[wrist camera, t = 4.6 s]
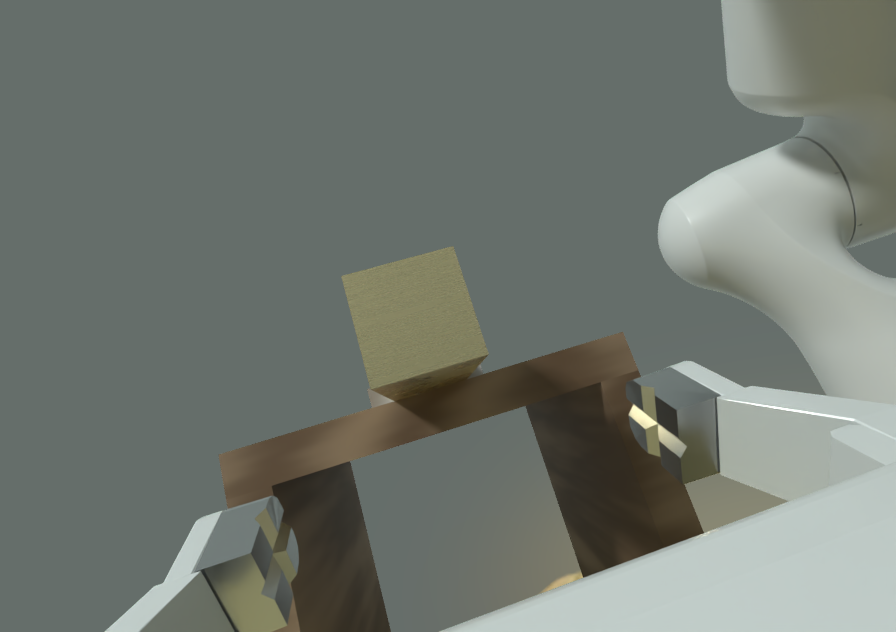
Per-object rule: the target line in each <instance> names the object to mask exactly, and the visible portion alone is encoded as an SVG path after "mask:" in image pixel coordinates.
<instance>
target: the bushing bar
mask: <svg viewBox="0 0 896 632" xmlns="http://www.w3.org/2000/svg"><path fill="white" fill-rule="evenodd" d="M341 277H342V280H343V284H344V288H345V292H346V296H347V300H348V304H349V308H350V311H351V315H352V319H353V323H354V327H355V330H356V334H357V338H358V342H359V346H360V350H361V354H362V357H363V362H364V365H365V369H366V373H367V377H368V381H369V385H370V389H371V390H372V391H374V392H377V393H379V394H381V395H383V396H385V397H387V398H389V399H391V400H393V401H397V400H400V399H403V398H407V397H410V396H413V395H417V394H420V393H423V392H426V391H430V390H433V389H436V388H440V387H443V386H446V385H449V384H453V383H456V382H459V381H463V380H466V379H468V377H469V376H470V375H471V374H472V373H473V372H474V371H475V369H476V368H477V367H478V366H479V365H480V364H481V362H482V361H483V360H484V359H485V358H486V357H487V356H488V351H487V348H486V345H485V342H484V339H483V336H482V333H481V330H480V327H479V324H478V321H477V318H476V315H475V312H474V309H473V305H472V302H471V299H470V296H469V293H468V291H467V287H466V284H465V281H464V278H463V275H462V272H461V269H460V266H459V263H458V259H457V257H456V253H455V250H454V247H453V246H452V247H448V248H444V249H441V250H437V251H433V252H430V253H426V254H423V255H418V256H415V257H411V258H407V259H403V260H400V261H396V262H393V263H388V264H385V265H381V266H378V267H374V268H370V269H366V270H362V271H359V272H355V273H351V274H348V275H344V276H341Z"/></svg>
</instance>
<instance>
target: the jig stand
mask: <svg viewBox="0 0 896 632" xmlns="http://www.w3.org/2000/svg"><path fill="white" fill-rule="evenodd" d="M639 377H641V376H640V373H639V371H638V368H637V366H636V363H635V361H634V359H633V356H632V354H631V351H630V349H629V346H628V344H627V341H626V339H625V336H624V334H623V332H621V333H618V334H614V335H611V336H607V337H604V338H601V339H598V340H595V341H591V342H588V343H585V344H581V345H578V346H575V347H571V348H568V349H565V350H562V351H558V352H555V353H552V354H549V355H545V356H542V357H538V358H535V359H532V360H528V361H525V362H522V363H519V364H515V365H512V366H509V367H505V368H502V369H499V370H495V371H492V372H489V373H486V374H483V371H482V368H481V365H479V366H478V367H477V368H476V369H475V371H474V372H473V373H472V374H471V375H470V376H469V377H468V379H466V380H463V381H459V382H456V383H453V384H449V385H446V386H443V387H440V388H436V389H433V390H430V391H426V392H423V393H420V394H417V395H413V396H410V397H407V398H403V399H400V400H397V401H393V400H391V399H389V398H387V397H385V396H383V395H381V394H379V393H377V392H374V391H372V390H371V389H367V390H368V394H369V397H370V401H371V405H372V408H371V409H367V410H364V411H361V412H357V413H354V414H351V415H348V416H344V417H341V418H338V419H334V420H331V421H328V422H324V423H321V424H318V425H315V426H311V427H308V428H305V429H301V430H299V431H295V432H292V433H288V434H285V435H282V436H278V437H275V438H272V439H269V440H265V441H262V442H259V443H255V444H252V445H249V446H246V447H242V448H239V449H236V450H233V451H229V452H226V453H223V454H219V460H220V466H221V471H222V478H223V483H224V489H225V495H226V500H227V506H228V509H229V508H233V507H236V506H239V505H243V504H246V503H249V502H253V501H256V500H259V499H263V498H266V497H269V496H274V497H276V498H278V500H279V502H280V504H281V506H282V508H283V510H284V512H283V516H282V520H281V522H283V523H285V524H287V525H289V526H290V527H292V530H293V532H294V534H295V537H296V541H297V545H298V554H299V565H298V571H297V575H296V576H295V578H294V579H293V580H292V581H291V583H290V584H289V586H290V588H291V590H292V592H293V598H292V604H291V609H290V614H289V620H288V625H287V626H285V627H283V628H280V629H277V630H275V631H272V632H391V631H390V626H389V622H388V618H387V614H386V609H385V605H384V601H383V597H382V593H381V589H380V584H379V580H378V576H377V572H376V568H375V563H374V560H373V555H372V551H371V547H370V543H369V539H368V534H367V530H366V526H365V522H364V517H363V513H362V509H361V505H360V501H359V497H358V492H357V488H356V484H355V480H354V476H353V472H352V468H351V463H350V461H352V460H355V459H358V458H361V457H365V456H367V455H371V454H374V453H377V452H380V451H384V450H387V449H390V448H393V447H396V446H399V445H402V444H405V443H409V442H412V441H415V440H418V439H422V438H425V437H428V436H431V435H434V434H437V433H440V432H444V431H446V430H450V429H453V428H456V427H460V426H463V425H466V424H469V423H472V422H475V421H479V420H481V419H484V418H488V417H491V416H494V415H498V414H501V413H504V412H507V411H510V410H513V409H517V408H519V407H523V406H526V409H527V412H528V415H529V418H530V421H531V424H532V427H533V429H534V432H535V436H536V439H537V441H538V444H539V447H540V450H541V453H542V456H543V459H544V462H545V465H546V468H547V471H548V474H549V477H550V480H551V483H552V486H553V489H554V491H555V495H556V498H557V501H558V504H559V507H560V510H561V513H562V516H563V519H564V522H565V525H566V528H567V530H568V533H569V536H570V539H571V542H572V545H573V548H574V551H575V554H576V557H577V560H578V563H579V566H580V569H581V572H582V575H583V578H584V577H587V576H590V575H592V574H595V573H598V572H600V571H603V570H606V569H608V568H611V567H614V566H617V565H619V564H622V563H625V562H627V561H630V560H633V559H635V558H638V557H641V556H644V555H646V554H649V553H652V552H654V551H657V550H660V549H662V548H665V547H668V546H671V545H673V544H676V543H679V542H681V541H684V540H687V539H689V538H692V537H695V536H698V535H700V534H703V533H704V532H703V530H702V527H701V525H700V522H699V520H698V517H697V515H696V512H695V510H694V507H693V505H692V502H691V500H690V497H689V495H688V492H687V490H686V487H685V485H684V484H682V483H680V482H679V481H678V480H677V479H676V478H675V477H674V476H673V475H672V474H670V473H669V472H668V471H667V470H666V469H665V468H664V467H663V466H662V465H661V457H659V456H656V455H652V454H649V453H647V452H646V451H645V450H644V449H643V448H642V447H641V446H640V444H639V443H638V441H637V440H636V439H635V436H634V434H633V432H632V430H631V427H630V421H629V413H630V411H631V409H632V407H633V404H632V403H631V402H630V401H629V400H628V399H627V398H626V389H625V388H626V383H627V382H628V381H631V380H633V379H636V378H639Z"/></svg>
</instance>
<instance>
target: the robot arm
mask: <svg viewBox="0 0 896 632" xmlns="http://www.w3.org/2000/svg"><path fill="white" fill-rule="evenodd" d="M721 5H722V17H723V29H724V42H725V55H726V67H727V80H728V84H729V86H730V88H731V90H732V92H733V94H734V95H735V97H736V98H737V99H738V100H739V101H740V102H741V103H742V104H744V105H745V106H746V107H748V108H750V109H752V110H754V111H757V112H761V113H764V114H770V115H776V116H788V117H804V123H803V127H802V129H801V130H800V132H799V133H798V134H797V135H796V136H794V137H792V138H790V139H789V140H787V141H785V142H783V143H781V144H778V145H776V146H774V147H771V148H769V149H766V150H764V151H762V152H759V153H757V154H755V155H752V156H750V157H747V158H745V159H743V160H740V161H738V162H735V163H733V164H731V165H728V166H726V167H724V168H721V169H719V170H716V171H714V172H712V173H711V174H709V175H707V176H706V177H704V178H702V179H701V180H699V181H697V182H696V183H694V184H692V185H691V186H689V187H688V188H686V189H685V190H684V191H682V192H680V193H679V194H677V195H676V196H674V197H673V198H671V199H670V200H668V202H667V203H666V205H665V207H664V209H663V211H662V214H661V217H660V220H659V225H658V241H659V247H660V250H661V253H662V255H663V257H664V259H665V261H666V263H667V264H668V265H669V267H670V268H671V269H672V270H673V271H674V272H675V273H676V274H677V275H679V276H680V277H681V278H682V279H684V280H685V281H687V282H689V283H691V284H693V285H695V286H698V287H701V288H706V289H710V290H715V291H718V292H722V293H725V294H728V295H730V296H733V297H736V298H738V299H740V300H742V301H745V302H747V303H748V304H750V305H752V306H754V307H755V308H757V309H758V310H760V311H762V312H763V313H764V314H766V315H767V316H768V317H770V318H771V319H772V320H774V321H775V322H776V323H777V324H778V325H779V326H780V327H782V328H783V329H784V330H785V332H787V334H788V335H789V336H790V337H791V338H792V339H793V341H794V342H795V343H796V345H797V346H798V348H799V349H800V351H801V352H802V354H803V356H804V357H805V359H806V360H807V362H808V364H809V365H810V367H811V369H812V370H813V372H814V374H815V375H816V377H817V379H818V381H819V382H820V384H821V386H822V388H823V390H824V391H825V393H826V395H827V396H824V395H816V394H808V393H801V392H793V391H786V390H778V389H771V388H763V387H755V386H750V387H747V388H744V387H742V386H740V385H738V384H736V383H734V382H732V381H730V380H728V379H726V378H724V377H722V376H720V375H718V374H716V373H714V372H712V371H710V370H708V369H706V368H704V367H702V366H700V365H698V364H696V363H694V362H692V361H684V362H681V363H678V364H676V365H673V366H670V367H667V368H665V369H662V370H660V371H657V372H654V373H651V374H648V375H645V376H642V377H639V378H636V379H633V380H631V381H628V382H627V383H626V388H625V389H626V398H627V399H628V400H629V401H630V402H631V403H632V404H633V407H632V409H631V411H630V413H629V421H630V427H631V430H632V432H633V434H634V436H635V439H636V440H637V441H638V443H639V444H640V446H641V447H642V448H643V449H644V450H645V451H646V452H647V453H649V454H652V455H656V456H659V457H661V465H662V466H663V467H664V468H665V469H666V470H667V471H668V472H669V473H670V474H672V475H673V476H674V477H675V478H676V479H677V480H678V481H679V482H680V483H682V484H687V483H689V482H693V481H696V480H699V479H702V478H705V477H708V476H711V475H714V474H717V473H720V475H723V476H725V477H728V478H730V479H733V480H736V481H738V482H741V483H743V484H746V485H748V486H751V487H754V488H756V489H759V490H761V491H764V492H767V493H769V494H772V495H774V496H777V497H779V498H782V499H785V500H787V501H789V502H786V503H784V504H781V505H778V506H776V507H773V508H770V509H768V510H765V511H762V512H760V513H757V514H755V515H752V516H749V517H746V518H744V519H741V520H738V521H735V522H733V523H730V524H727V525H725V526H722V527H719V528H717V529H714V530H711V531H708V532H706V533H703V534H700V535H698V536H695V537H692V538H689V539H687V540H684V541H681V542H679V543H676V544H673V545H671V546H668V547H665V548H662V549H660V550H657V551H654V552H652V553H649V554H646V555H644V556H641V557H638V558H635V559H633V560H630V561H627V562H625V563H622V564H619V565H617V566H614V567H611V568H608V569H606V570H603V571H600V572H598V573H595V574H592V575H590V576H587V577H584V578H581V579H579V580H576V581H573V582H571V583H568V584H565V585H563V586H560V587H557V588H555V589H552V590H549V591H547V592H544V593H541V594H539V595H536V596H533V597H531V598H528V599H525V600H523V601H520V602H517V603H515V604H512V605H509V606H507V607H504V608H501V609H499V610H496V611H494V612H491V613H488V614H485V615H482V616H480V617H477V618H474V619H472V620H469V621H466V622H464V623H461V624H458V625H456V626H453V627H450V628H448V629H445V630H442V631H440V632H896V278H887V277H884V276H881V275H879V274H876V273H874V272H872V271H870V270H869V269H867V268H865V267H864V266H862V265H861V264H860V263H858V262H857V261H856V260H855V259H854V258H853V257H852V256H851V255H850V254H849V253H848V251H847V250H846V249H848V248H850V247H853V246H857V245H859V244H862V243H865V242H868V241H871V240H874V239H877V238H880V237H883V236H886V235H889V234H892V233H895V232H896V0H721ZM283 512H284V510H283V508H282V506H281V504H280V502H279V500H278V498H276V497H274V496H269V497H266V498H263V499H259V500H256V501H253V502H249V503H246V504H243V505H239V506H236V507H233V508H229V509H226V510H224V511H223V510H222V511H219V512H217V513H213V514H210V515H207V516H205V517H202V518H200V519H199V520H197V521H196V522H195V525H194V526H193V528H192V530H191V532H190V534H189V535H188V537H187V539H186V541H185V543H184V545H183V547H182V549H181V551H180V552H179V554H178V556H177V558H176V560H175V562H174V564H173V566H172V568H171V569H170V571H169V573H168V575H167V577H166V579H165V581H164V583H163V584H160V585H157V586H154V587H153V588H152V589H151V590H150V591H149V592H148V593H147V594H146V595H144V596H143V597H142V598H141V599H140V600H139V601H138V602H137V603H136V604H135V605H134V606H132V607H131V608H130V609H129V610H128V611H127V612H126V613H125V614H124V615H123V616H121V617H120V618H119V619H118V620H117V621H116V622H115V623H114V624H113V625H112V626H110V627H109V628H108V629H107V630H106V631H105V632H272V631H275V630H277V629H280V628H283V627H285V626H287V625H288V620H289V614H290V609H291V604H292V598H293V592H292V590H291V588H290V586H289V584H290V583H291V581H292V580H293V579H294V578H295V576H296V575H297V571H298V565H299V554H298V545H297V541H296V537H295V534H294V532H293V530H292V527H290V526H289V525H287V524H285V523H283V522H281V520H282V516H283Z"/></svg>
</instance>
